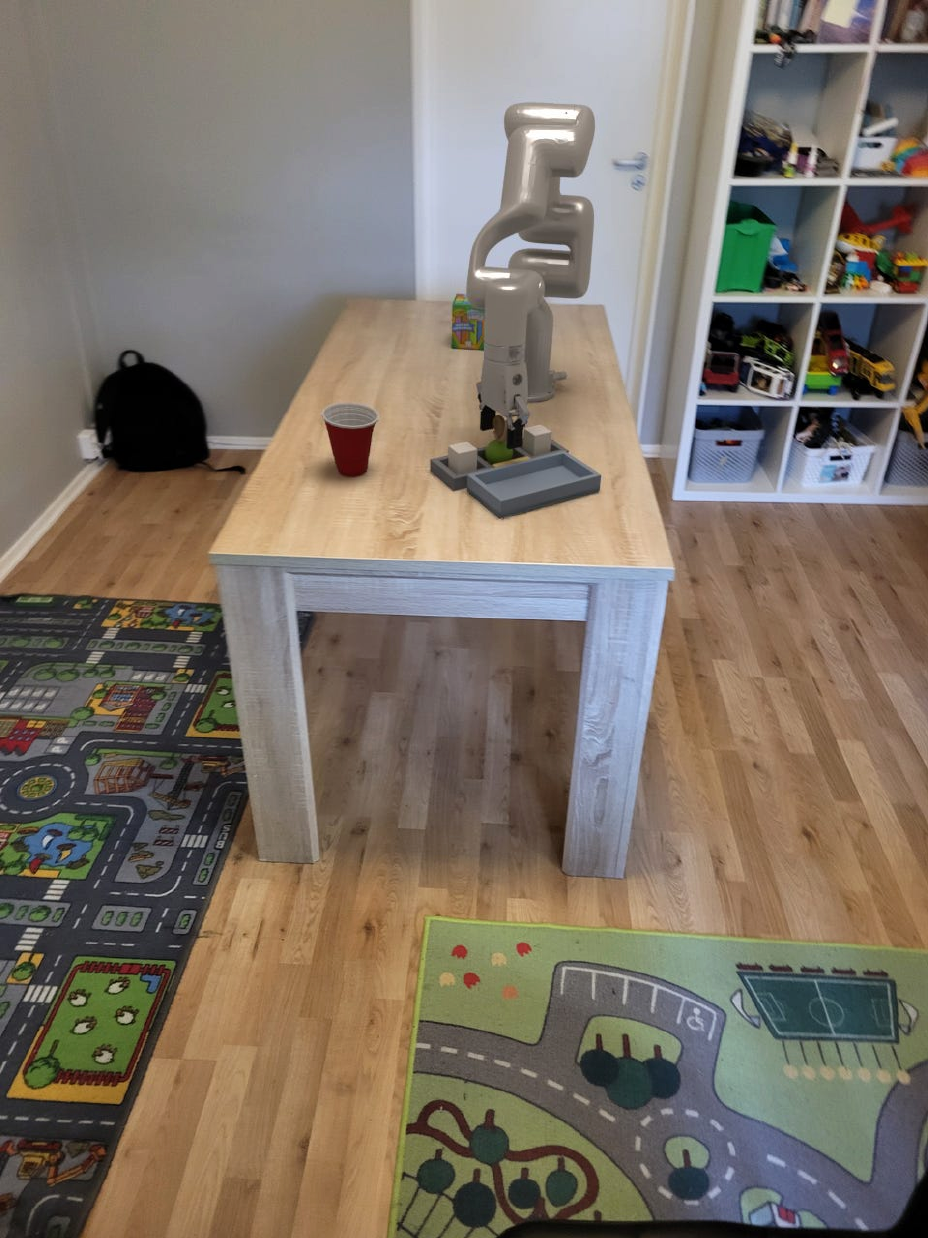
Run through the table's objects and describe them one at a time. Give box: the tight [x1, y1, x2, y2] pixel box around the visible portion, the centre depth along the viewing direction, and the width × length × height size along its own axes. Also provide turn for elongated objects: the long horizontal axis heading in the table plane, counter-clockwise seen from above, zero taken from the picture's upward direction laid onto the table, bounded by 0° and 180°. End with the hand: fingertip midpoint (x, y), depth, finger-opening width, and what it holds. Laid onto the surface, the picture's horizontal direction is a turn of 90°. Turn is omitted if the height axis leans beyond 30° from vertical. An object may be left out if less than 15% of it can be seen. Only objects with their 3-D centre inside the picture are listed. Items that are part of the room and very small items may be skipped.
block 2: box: [523, 424, 553, 456], centre depth 185 cm, size 4×4×6 cm
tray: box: [466, 450, 602, 520], centre depth 174 cm, size 22×12×4 cm, turn 120°
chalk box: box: [451, 293, 485, 351], centre depth 238 cm, size 9×9×15 cm
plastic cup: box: [320, 402, 380, 478], centre depth 178 cm, size 11×11×12 cm
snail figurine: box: [485, 414, 513, 466], centre depth 180 cm, size 5×6×12 cm
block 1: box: [448, 441, 477, 475], centre depth 178 cm, size 4×4×6 cm
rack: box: [429, 438, 570, 492], centre depth 182 cm, size 26×9×3 cm, turn 120°
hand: (500, 438), depth 179 cm, fingers open, 9 cm apart
